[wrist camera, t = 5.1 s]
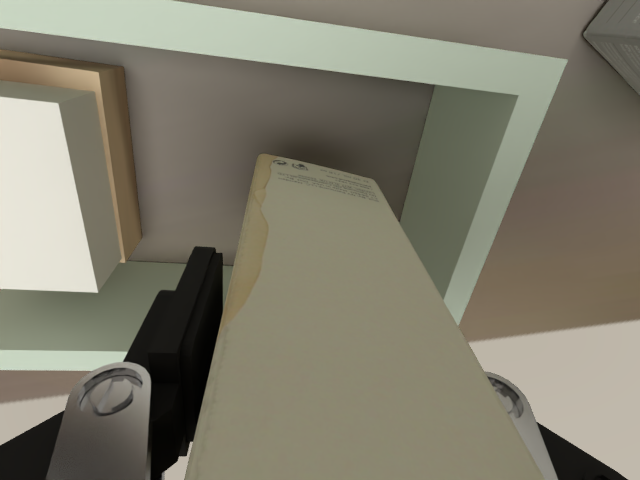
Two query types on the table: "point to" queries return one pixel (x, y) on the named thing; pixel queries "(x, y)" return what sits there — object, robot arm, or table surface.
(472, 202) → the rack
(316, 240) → the skincare box
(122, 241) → the offcut lower
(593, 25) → the skincare box
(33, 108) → the offcut upper
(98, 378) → the robot arm
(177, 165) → the table surface
